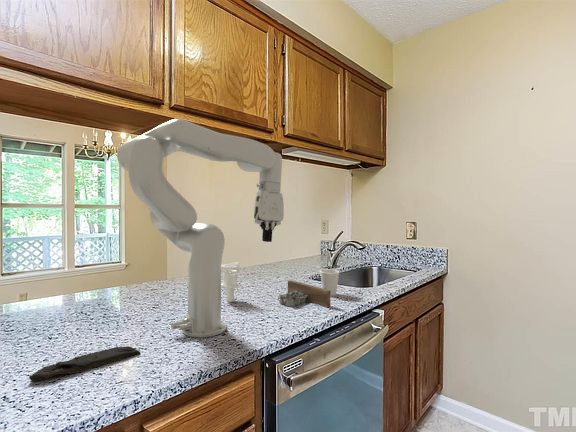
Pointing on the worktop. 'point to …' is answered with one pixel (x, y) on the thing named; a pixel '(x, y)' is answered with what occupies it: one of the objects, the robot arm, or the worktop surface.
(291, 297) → the egg carton
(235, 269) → the white plastic bottle
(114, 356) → the wood
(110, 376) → the worktop surface
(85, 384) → the worktop surface
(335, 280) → the dixie cup
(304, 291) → the walnut board
